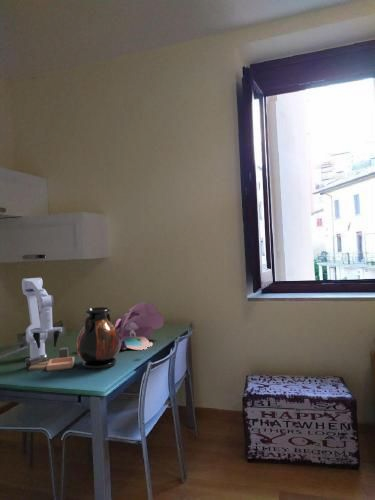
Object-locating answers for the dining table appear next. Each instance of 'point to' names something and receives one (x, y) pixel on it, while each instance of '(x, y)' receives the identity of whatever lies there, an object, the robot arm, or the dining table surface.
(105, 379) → the dining table surface
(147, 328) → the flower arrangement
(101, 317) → the amphora vase
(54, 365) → the tray
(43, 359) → the crank lever
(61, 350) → the stop block
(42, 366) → the crank base
